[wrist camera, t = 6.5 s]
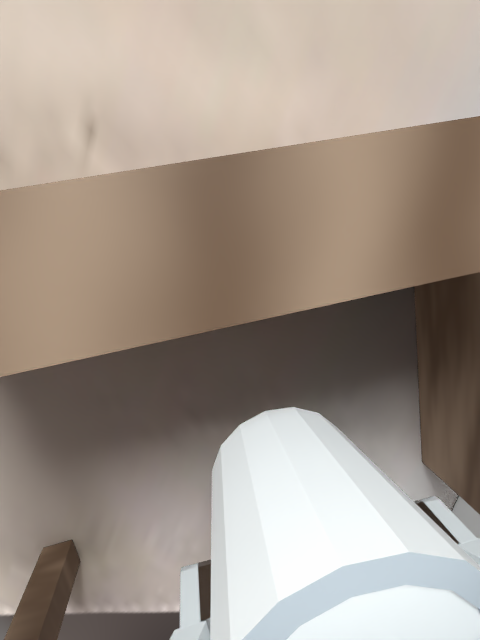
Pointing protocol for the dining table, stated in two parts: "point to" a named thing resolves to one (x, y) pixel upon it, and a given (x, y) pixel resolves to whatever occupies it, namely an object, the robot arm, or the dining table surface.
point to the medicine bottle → (467, 516)
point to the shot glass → (327, 543)
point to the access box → (252, 274)
